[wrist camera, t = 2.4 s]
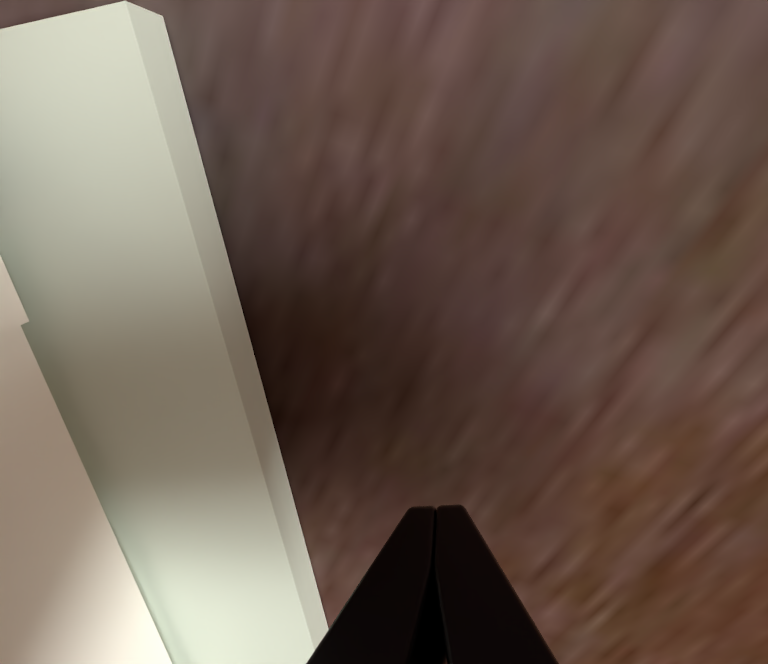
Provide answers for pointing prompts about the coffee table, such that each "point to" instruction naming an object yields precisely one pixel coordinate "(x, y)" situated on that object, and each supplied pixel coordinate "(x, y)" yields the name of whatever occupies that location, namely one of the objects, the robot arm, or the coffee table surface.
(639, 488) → the coffee table surface
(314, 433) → the coffee table surface
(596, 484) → the coffee table surface
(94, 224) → the gate base
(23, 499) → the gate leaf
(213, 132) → the coffee table surface
